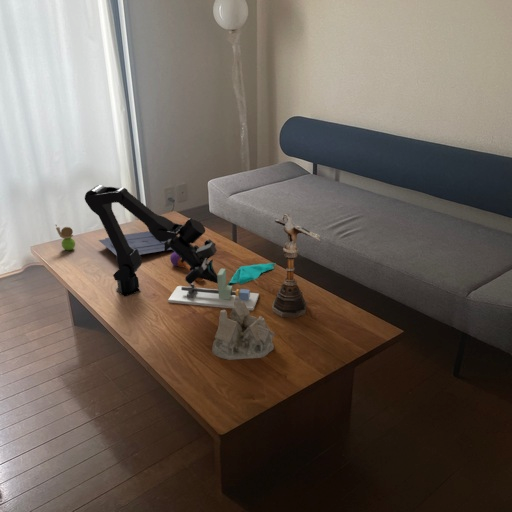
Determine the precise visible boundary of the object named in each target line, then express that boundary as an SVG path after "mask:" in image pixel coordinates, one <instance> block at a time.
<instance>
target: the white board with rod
mask: <svg viewBox="0 0 512 512" xmlns="http://www.w3.org/2000/svg"><path fill="white" fill-rule="evenodd" d="M195 285H196V284H195V283H194V282H193V283H191V284H190V285H189V286H183V285H178V286H176V287H175V289H174V291H172V293H171V295H170V297H169V298H168V299H167V302H168V303H171V304H172V303H173V304H182V305H195V306H202V307H203V306H204V307H213V308H214V307H215V308H222V309H231V310H233V307H234V301H235V297H236V296H239V298H240V301H241V302H244V303H245V305H246V307H247V308H248V310H249V311H252V312H253V311H254V309H255V307H256V304H257V302H258V299H259V297H260V293H257V292H251V289H246V288H245V289H244V288H240V289H239V288H236V290H232V291H233V292H232V291H231V295H232V296H231V299H230V300H228V299H219V291H218V289H215V288H214V289H213V288H204V287H203V288H202V287H195Z"/></svg>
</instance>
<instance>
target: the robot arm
mask: <svg viewBox="0 0 512 512" xmlns="http://www.w3.org/2000/svg"><path fill="white" fill-rule="evenodd" d="M84 202H85V204H86V205H87V206H88V207H89V209H90V210H91V211H92V213H94V214H96V215H97V216H98V218H99V219H100V222H101V224H102V226H103V228H104V231H105V232H106V234H107V236H108V238H110V240H111V242H112V244H113V247H114V249H115V251H116V253H117V256H116V264H117V267H118V269H117V270H116V271H115V272H114V274H112V276H113V279H114V280H115V281H116V282H117V288H116V291H117V292H118V293H119V294H120V295H122V296H123V297H128V296H130V295H133V294H135V293H138V292H141V289H140V283H139V277H138V276H137V273H136V272H137V271H138V270H139V268H140V267H141V266H142V263H143V262H142V259H143V256H141V255H139V252H138V250H137V249H135V250H133V249H132V248H131V247H130V246H129V245H128V243H127V241H126V238H125V236H124V235H125V234H124V232H123V231H122V228H121V226H120V224H119V222H118V220H117V217H116V215H115V213H114V210H113V203H115V204H116V203H118V204H119V205H121V206H122V207H123V208H124V209H125V210H127V211H128V212H129V213H131V214H132V215H133V216H134V217H135V218H137V219H138V220H140V222H142V223H143V224H144V225H145V226H146V227H147V229H148V232H149V231H150V233H151V234H152V235H153V236H154V237H155V238H156V239H157V240H158V241H160V242H165V241H166V242H165V243H164V245H165V249H164V250H165V251H164V252H167V251H169V250H168V249H169V248H171V250H172V251H173V253H174V252H175V253H176V254H177V255H178V256H179V257H181V258H182V259H181V262H182V263H183V262H184V261H185V262H186V263H187V264H188V266H190V270H191V271H190V272H189V271H188V273H187V275H186V276H185V278H184V279H185V282H186V283H187V284H188V285H189V286H190V284H191V283H194V282H195V281H196V279H197V278H201V279H203V280H206V281H207V282H208V281H209V282H211V283H215V284H218V280H217V274H218V273H216V271H215V269H214V267H213V262H214V260H213V259H211V260H209V259H210V258H211V257H214V255H215V254H216V252H217V251H218V250H217V247H216V246H217V245H216V242H214V241H213V240H211V239H209V238H208V239H205V241H204V244H203V245H202V246H198V245H196V244H195V243H196V242H197V241H198V240H199V239H200V238H201V237H202V236H203V235H204V234H205V233H206V228H205V226H204V224H203V223H201V222H200V221H198V220H196V219H193V218H192V217H189V218H188V219H187V220H186V221H185V223H184V224H181V223H176V222H173V221H171V220H170V219H168V218H167V217H165V216H162V215H159V214H156V213H155V212H154V211H153V210H151V209H150V208H149V207H148V206H146V205H145V204H144V203H142V201H140V200H139V199H138V198H136V197H135V196H134V195H132V193H131V192H129V190H128V189H127V188H126V187H115V186H104V185H101V184H99V185H96V186H94V187H93V188H91V189H90V190H88V191H87V192H86V193H85V195H84ZM168 239H171V240H170V241H167V240H168ZM193 244H195V245H194V246H193Z"/></svg>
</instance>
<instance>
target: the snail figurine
mask: <svg viewBox="0 0 512 512" xmlns="http://www.w3.org/2000/svg"><path fill="white" fill-rule="evenodd" d="M55 229H56V231H57V234H58V235H59V237H60V238H62V241H61V247H62V248H63V250H66V251H71V250H73V249H74V248H75V247H76V242H75V239H74V238H73V237H74V234H73V232H74V231H73V228H71V227H69V226H65V227H62V229H61V228H60V227H58V224H55Z"/></svg>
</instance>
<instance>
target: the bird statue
mask: <svg viewBox="0 0 512 512" xmlns="http://www.w3.org/2000/svg"><path fill="white" fill-rule="evenodd" d="M280 218H281V219H275V220H274V222H275V223H277V224H280V225H281V226H282V227H283V231H284V233H286V234H287V238H288V240H287V241H286V242H285V244H284V246H283V247H282V251H283V257H284V258H286V260H287V261H286V268H285V270H286V278H285V279H284V280H283V283H282V285H281V287H280V288H279V290H278V291H277V295H276V297H275V298H274V300H273V301H272V306H271V307H272V309H271V310H272V311H271V312H273V313H275V314H277V315H278V316H279V317H281V318H291V319H292V318H293V319H296V318H298V317H301V316H302V315H305V314H306V312H307V311H306V310H307V301H306V300H305V298H304V296H303V291H302V289H300V287H299V285H298V284H297V283H298V281H297V279H295V278H294V272H295V269H296V268H295V266H294V263H295V258H297V257H298V252H299V247H298V246H297V243H296V242H297V239H298V235H299V234H302V235H305V236H307V237H311V238H313V239H314V240H317V242H319V243H322V242H321V241H322V240H321V234H317V233H314V232H312V231H309V230H307V228H305V227H302V226H300V225H294V224H293V223H292V222H293V219H292V216H291V215H290V214H289V213H283V214H282V216H281V217H280ZM285 219H286V220H285Z"/></svg>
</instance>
